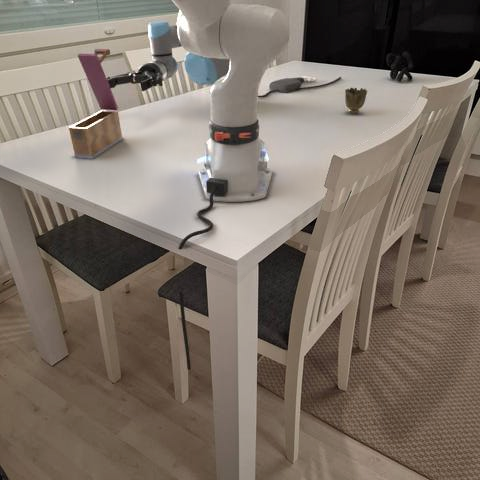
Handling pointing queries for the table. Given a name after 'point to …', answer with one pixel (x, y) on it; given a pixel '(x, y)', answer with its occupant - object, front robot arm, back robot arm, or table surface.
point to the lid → (98, 78)
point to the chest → (95, 134)
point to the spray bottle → (289, 83)
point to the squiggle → (399, 66)
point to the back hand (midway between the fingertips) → (122, 86)
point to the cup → (355, 99)
